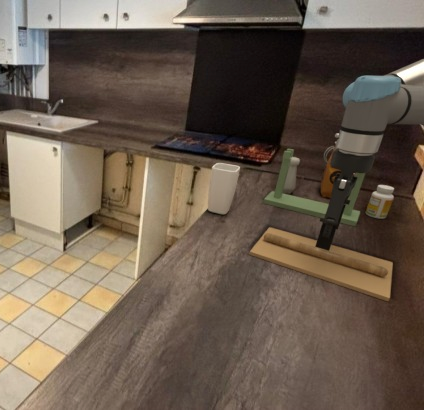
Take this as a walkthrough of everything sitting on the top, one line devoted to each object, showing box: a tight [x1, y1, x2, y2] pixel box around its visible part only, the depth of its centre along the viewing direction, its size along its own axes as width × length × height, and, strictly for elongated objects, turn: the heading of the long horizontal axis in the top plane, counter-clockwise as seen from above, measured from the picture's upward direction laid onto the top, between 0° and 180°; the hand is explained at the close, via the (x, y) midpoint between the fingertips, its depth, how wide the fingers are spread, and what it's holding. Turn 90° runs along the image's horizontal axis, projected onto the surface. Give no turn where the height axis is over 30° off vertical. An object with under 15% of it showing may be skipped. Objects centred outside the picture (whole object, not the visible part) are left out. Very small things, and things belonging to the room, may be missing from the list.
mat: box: [248, 226, 394, 303], centre depth 89 cm, size 28×18×1 cm, turn 50°
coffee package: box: [320, 148, 357, 200], centre depth 125 cm, size 10×12×22 cm
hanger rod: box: [263, 233, 388, 277], centre depth 88 cm, size 26×2×2 cm, turn 50°
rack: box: [262, 148, 366, 227], centre depth 114 cm, size 26×10×18 cm, turn 50°
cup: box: [207, 162, 241, 216], centre depth 112 cm, size 7×7×15 cm
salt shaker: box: [283, 156, 301, 195], centre depth 129 cm, size 6×6×13 cm
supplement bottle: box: [365, 184, 395, 220], centre depth 112 cm, size 5×5×10 cm
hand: (327, 237), depth 86 cm, fingers open, 13 cm apart
